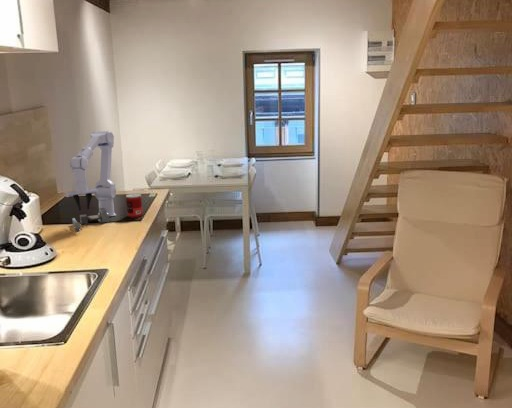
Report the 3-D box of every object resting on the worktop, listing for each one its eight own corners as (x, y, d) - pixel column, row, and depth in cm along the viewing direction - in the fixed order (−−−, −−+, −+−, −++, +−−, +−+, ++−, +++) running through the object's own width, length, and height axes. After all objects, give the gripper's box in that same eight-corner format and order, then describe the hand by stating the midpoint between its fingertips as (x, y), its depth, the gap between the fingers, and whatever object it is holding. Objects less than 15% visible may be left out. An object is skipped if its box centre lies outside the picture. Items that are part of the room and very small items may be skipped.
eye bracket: (97, 220, 265) (96, 208, 263) (107, 219, 267) (106, 207, 265) (99, 223, 259) (98, 211, 258) (110, 221, 262) (108, 209, 260)
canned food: (144, 213, 275) (143, 193, 273) (140, 217, 268) (138, 196, 265) (130, 213, 276) (128, 193, 274) (125, 217, 269) (123, 196, 266)
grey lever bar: (71, 223, 259) (71, 217, 258) (76, 223, 260) (75, 216, 259) (75, 230, 247) (75, 223, 246) (80, 229, 248) (79, 222, 247)
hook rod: (80, 223, 260) (79, 215, 259) (109, 218, 266) (108, 211, 265) (81, 224, 257) (80, 217, 256) (110, 220, 263) (110, 212, 262)
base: (73, 229, 249) (73, 229, 249) (81, 228, 251) (81, 228, 251) (74, 231, 246) (74, 231, 246) (82, 230, 248) (82, 230, 248)
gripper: (66, 185, 243) (69, 213, 247) (97, 181, 250) (100, 209, 253) (64, 182, 249) (67, 210, 253) (95, 179, 256) (98, 206, 259)
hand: (83, 209), depth 253 cm, fingers open, 3 cm apart
